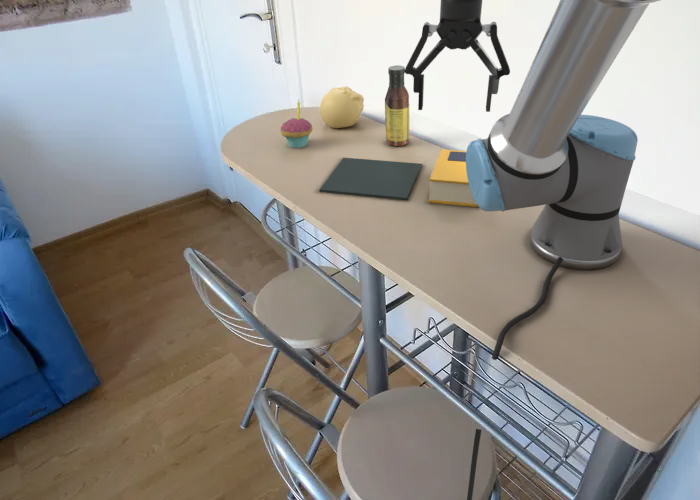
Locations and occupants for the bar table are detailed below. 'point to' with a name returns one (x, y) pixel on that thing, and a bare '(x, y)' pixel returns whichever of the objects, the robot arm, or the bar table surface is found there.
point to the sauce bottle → (397, 108)
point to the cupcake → (296, 130)
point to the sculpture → (341, 107)
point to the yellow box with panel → (451, 180)
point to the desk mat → (372, 178)
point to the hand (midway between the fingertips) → (453, 108)
